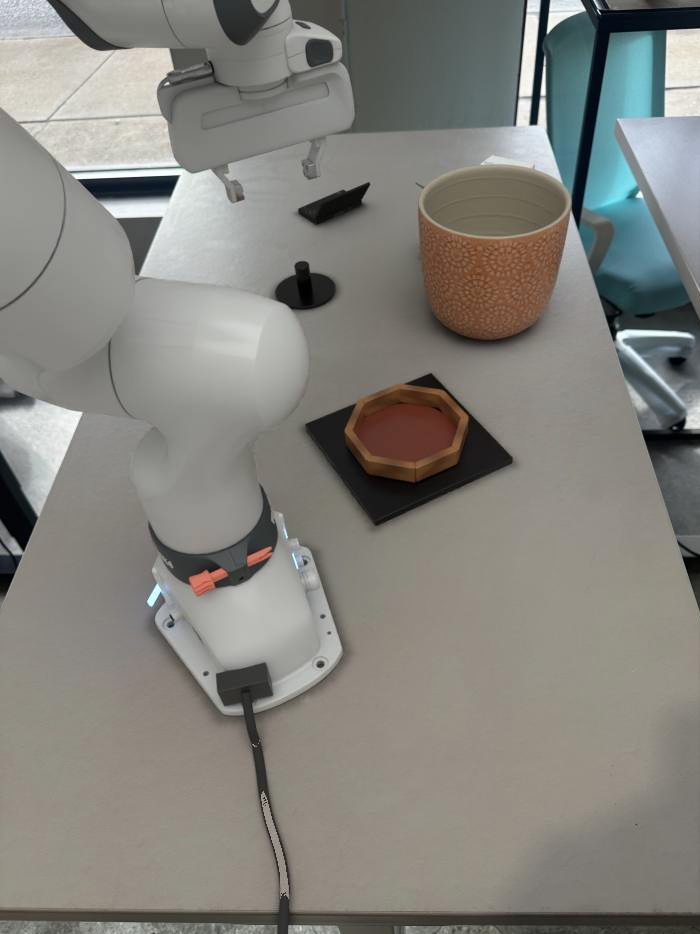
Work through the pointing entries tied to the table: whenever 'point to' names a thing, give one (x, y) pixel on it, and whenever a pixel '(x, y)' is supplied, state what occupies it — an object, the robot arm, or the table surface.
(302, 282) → the peg stand
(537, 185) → the planter
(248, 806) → the table surface
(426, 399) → the hoop
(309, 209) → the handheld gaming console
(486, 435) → the hob plate
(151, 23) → the robot arm
